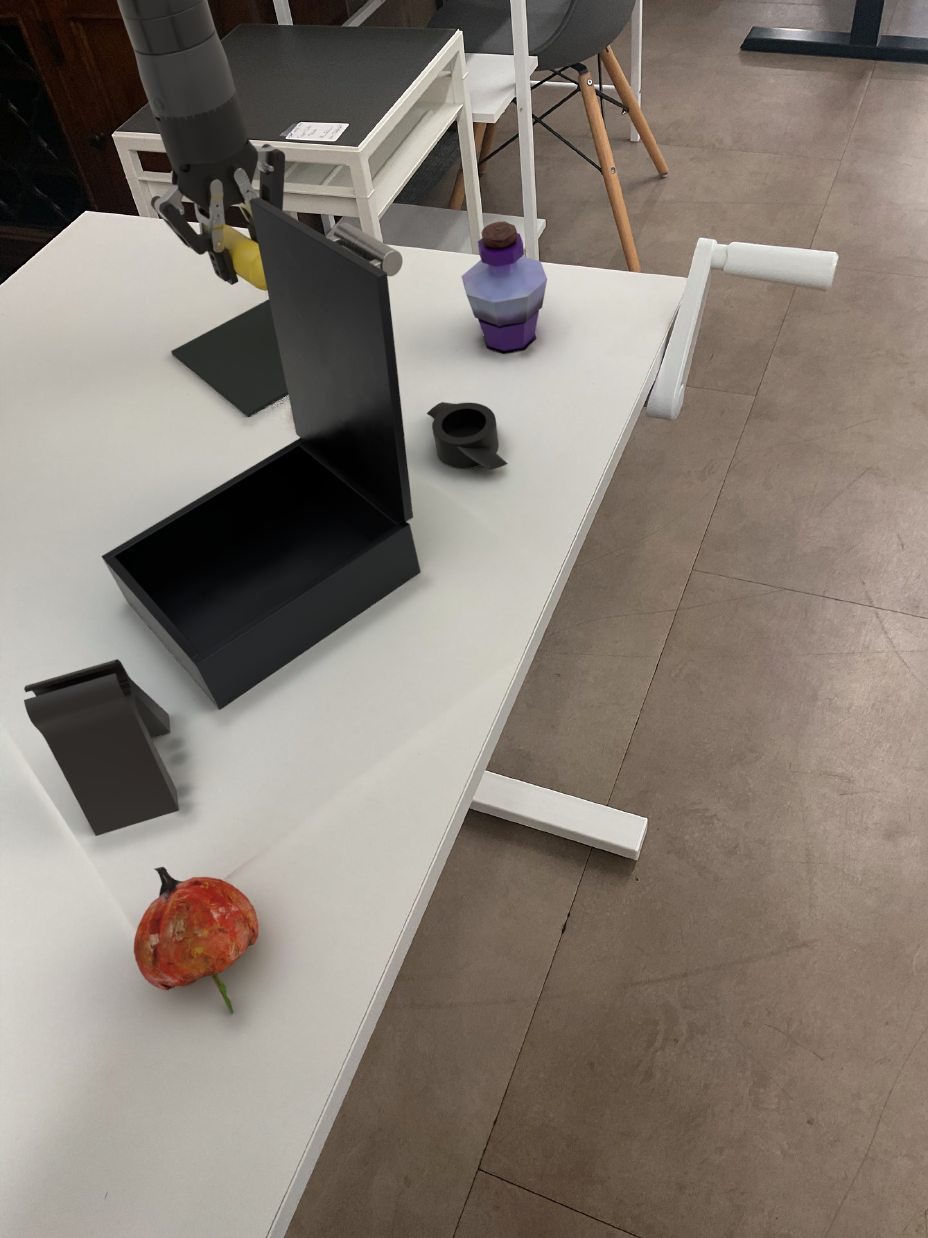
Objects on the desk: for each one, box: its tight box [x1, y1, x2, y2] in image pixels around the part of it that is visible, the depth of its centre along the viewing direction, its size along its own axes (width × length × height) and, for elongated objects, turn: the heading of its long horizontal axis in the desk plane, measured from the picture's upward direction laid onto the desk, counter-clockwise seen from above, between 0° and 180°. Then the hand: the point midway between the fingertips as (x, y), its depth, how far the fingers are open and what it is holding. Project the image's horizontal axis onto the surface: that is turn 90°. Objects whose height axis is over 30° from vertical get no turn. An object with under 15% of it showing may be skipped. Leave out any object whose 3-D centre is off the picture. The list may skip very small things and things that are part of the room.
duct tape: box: [426, 401, 508, 471], centre depth 92 cm, size 8×10×3 cm
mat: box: [170, 298, 289, 418], centre depth 107 cm, size 16×16×1 cm
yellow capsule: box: [223, 224, 267, 291], centre depth 99 cm, size 4×12×4 cm, turn 40°
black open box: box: [101, 437, 422, 711], centre depth 82 cm, size 20×16×6 cm
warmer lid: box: [250, 196, 414, 522], centre depth 76 cm, size 20×16×5 cm
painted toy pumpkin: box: [133, 866, 259, 1015], centre depth 62 cm, size 7×7×10 cm
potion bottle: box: [460, 221, 548, 355], centre depth 99 cm, size 9×9×12 cm
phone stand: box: [23, 658, 180, 837], centre depth 70 cm, size 9×6×12 cm, turn 15°
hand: (248, 270), depth 101 cm, fingers closed on yellow capsule, 3 cm apart
